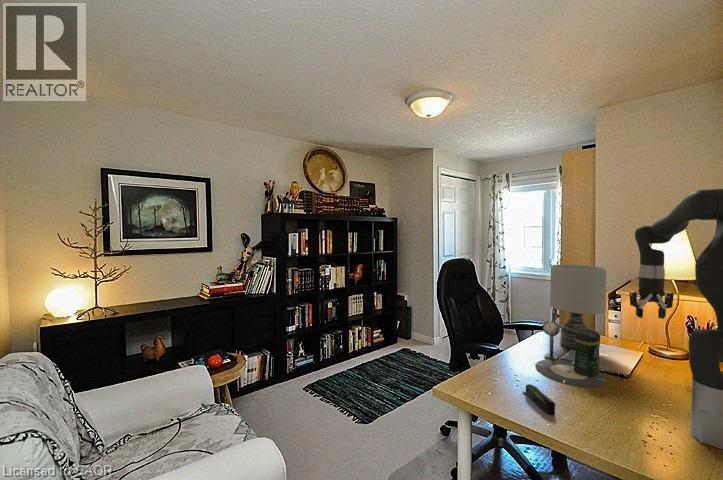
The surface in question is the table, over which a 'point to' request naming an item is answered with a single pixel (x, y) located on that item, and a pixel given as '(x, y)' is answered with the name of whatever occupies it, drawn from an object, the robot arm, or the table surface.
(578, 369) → the coffee jar
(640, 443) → the table surface
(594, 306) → the lamp
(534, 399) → the dark elongated block
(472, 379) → the table surface
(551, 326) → the dial gauge
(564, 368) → the mat
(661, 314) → the robot arm
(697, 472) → the table surface
